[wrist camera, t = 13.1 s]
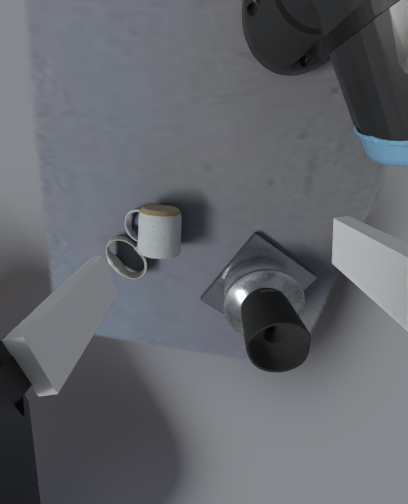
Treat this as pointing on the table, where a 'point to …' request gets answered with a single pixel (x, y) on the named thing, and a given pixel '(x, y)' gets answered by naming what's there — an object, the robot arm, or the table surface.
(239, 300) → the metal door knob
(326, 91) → the table surface
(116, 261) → the beige oval ring
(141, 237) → the ceramic mug
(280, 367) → the pen holder
